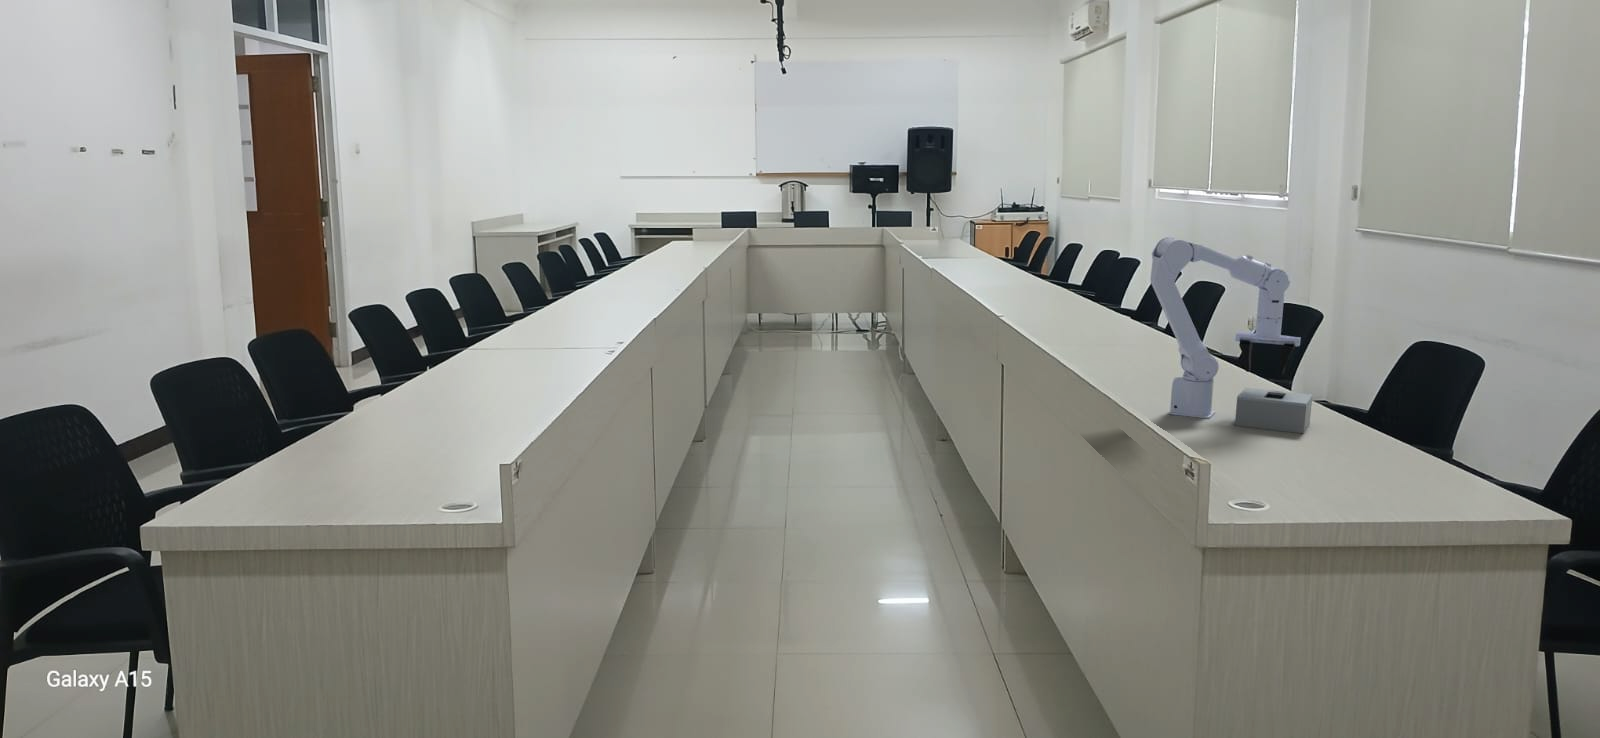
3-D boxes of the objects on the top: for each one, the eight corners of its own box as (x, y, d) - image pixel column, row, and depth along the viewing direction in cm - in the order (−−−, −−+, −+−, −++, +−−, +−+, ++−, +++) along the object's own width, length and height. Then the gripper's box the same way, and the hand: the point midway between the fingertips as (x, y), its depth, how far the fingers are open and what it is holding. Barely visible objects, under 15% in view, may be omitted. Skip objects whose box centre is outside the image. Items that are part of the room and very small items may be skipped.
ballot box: (1234, 425, 273) (1237, 396, 271) (1243, 415, 283) (1245, 387, 282) (1303, 433, 265) (1306, 403, 264) (1309, 423, 276) (1312, 394, 274)
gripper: (1235, 317, 280) (1230, 372, 283) (1299, 321, 273) (1294, 378, 276) (1239, 313, 286) (1235, 367, 289) (1303, 318, 279) (1298, 373, 282)
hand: (1264, 372), depth 283 cm, fingers open, 7 cm apart
